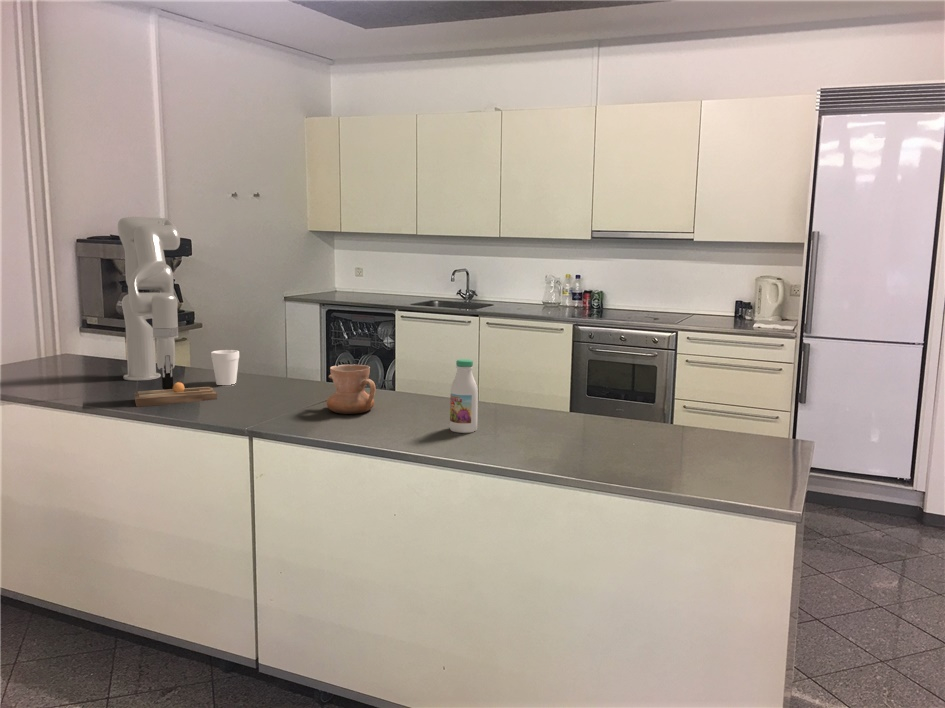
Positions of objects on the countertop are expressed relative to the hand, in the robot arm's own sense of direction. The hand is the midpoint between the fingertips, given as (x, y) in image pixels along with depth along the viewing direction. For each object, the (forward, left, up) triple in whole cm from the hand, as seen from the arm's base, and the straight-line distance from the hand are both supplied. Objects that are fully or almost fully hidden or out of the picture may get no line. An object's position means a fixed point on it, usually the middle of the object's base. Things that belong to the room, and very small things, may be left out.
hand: (167, 389), depth 236 cm
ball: (+1, +3, 0) cm, 3 cm away
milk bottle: (+73, +71, -4) cm, 102 cm away
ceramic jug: (+39, +49, -4) cm, 63 cm away
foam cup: (-17, +21, -4) cm, 27 cm away
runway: (0, +2, -4) cm, 5 cm away
